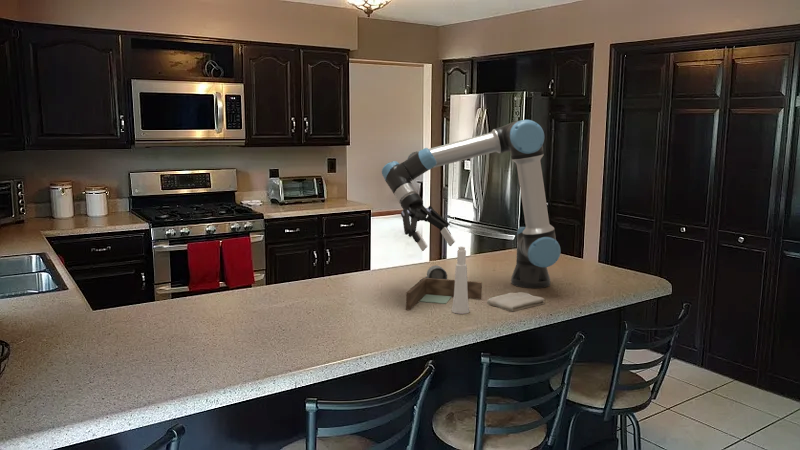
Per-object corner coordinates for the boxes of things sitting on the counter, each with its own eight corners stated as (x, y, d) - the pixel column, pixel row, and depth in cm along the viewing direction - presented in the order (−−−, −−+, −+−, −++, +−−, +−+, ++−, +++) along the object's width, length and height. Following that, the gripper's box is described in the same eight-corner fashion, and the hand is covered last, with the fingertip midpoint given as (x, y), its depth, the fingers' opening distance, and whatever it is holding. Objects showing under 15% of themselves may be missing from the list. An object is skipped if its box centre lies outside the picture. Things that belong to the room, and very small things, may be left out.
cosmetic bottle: (456, 314, 202) (458, 249, 198) (448, 310, 207) (449, 246, 204) (472, 312, 204) (474, 248, 201) (463, 308, 209) (465, 245, 206)
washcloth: (546, 304, 216) (546, 296, 215) (512, 313, 205) (512, 304, 204) (520, 297, 225) (521, 289, 225) (486, 306, 214) (486, 297, 214)
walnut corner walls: (481, 298, 222) (482, 282, 221) (470, 315, 201) (470, 297, 200) (423, 293, 228) (423, 277, 228) (405, 309, 207) (406, 292, 206)
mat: (451, 297, 223) (451, 296, 223) (445, 304, 214) (445, 303, 214) (426, 294, 226) (426, 294, 226) (419, 301, 217) (419, 300, 217)
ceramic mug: (444, 281, 246) (444, 263, 245) (447, 286, 238) (447, 267, 237) (417, 282, 245) (417, 264, 244) (420, 287, 237) (420, 268, 236)
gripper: (428, 203, 229) (457, 248, 220) (377, 208, 212) (407, 257, 203) (438, 190, 224) (469, 235, 216) (388, 194, 207) (418, 243, 199)
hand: (439, 246), depth 209 cm, fingers open, 13 cm apart
